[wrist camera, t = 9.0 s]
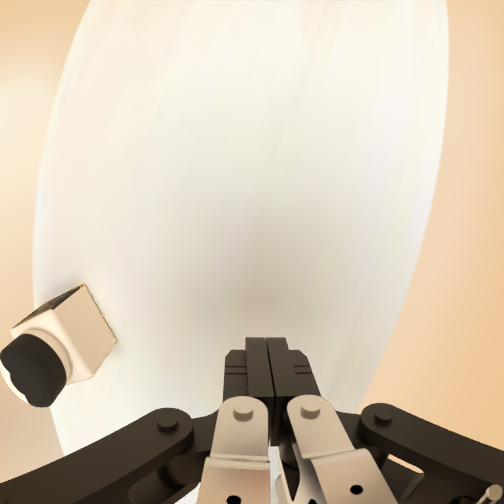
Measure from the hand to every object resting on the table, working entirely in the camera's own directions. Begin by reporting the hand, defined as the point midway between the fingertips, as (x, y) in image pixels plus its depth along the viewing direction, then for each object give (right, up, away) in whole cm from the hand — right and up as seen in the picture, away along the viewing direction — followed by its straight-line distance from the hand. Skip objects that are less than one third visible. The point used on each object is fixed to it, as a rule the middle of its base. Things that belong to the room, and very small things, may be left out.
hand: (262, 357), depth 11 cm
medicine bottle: (-19, -4, +18) cm, 26 cm away
